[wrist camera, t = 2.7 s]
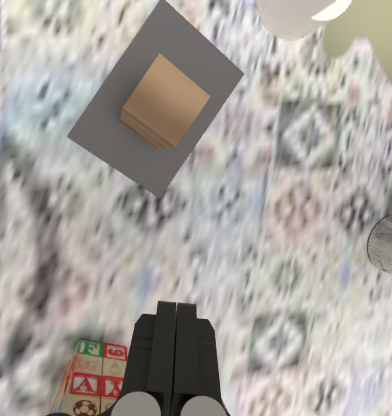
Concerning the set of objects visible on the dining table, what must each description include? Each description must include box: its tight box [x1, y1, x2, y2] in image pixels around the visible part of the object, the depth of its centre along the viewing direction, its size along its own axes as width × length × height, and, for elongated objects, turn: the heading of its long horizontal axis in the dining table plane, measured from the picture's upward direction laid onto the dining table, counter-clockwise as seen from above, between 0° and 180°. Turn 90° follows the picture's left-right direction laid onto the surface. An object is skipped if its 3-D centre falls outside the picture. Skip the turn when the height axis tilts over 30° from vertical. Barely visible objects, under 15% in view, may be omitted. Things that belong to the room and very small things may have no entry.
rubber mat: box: [67, 0, 244, 198], centre depth 34 cm, size 18×12×1 cm, turn 144°
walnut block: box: [119, 53, 211, 149], centre depth 28 cm, size 5×5×11 cm
